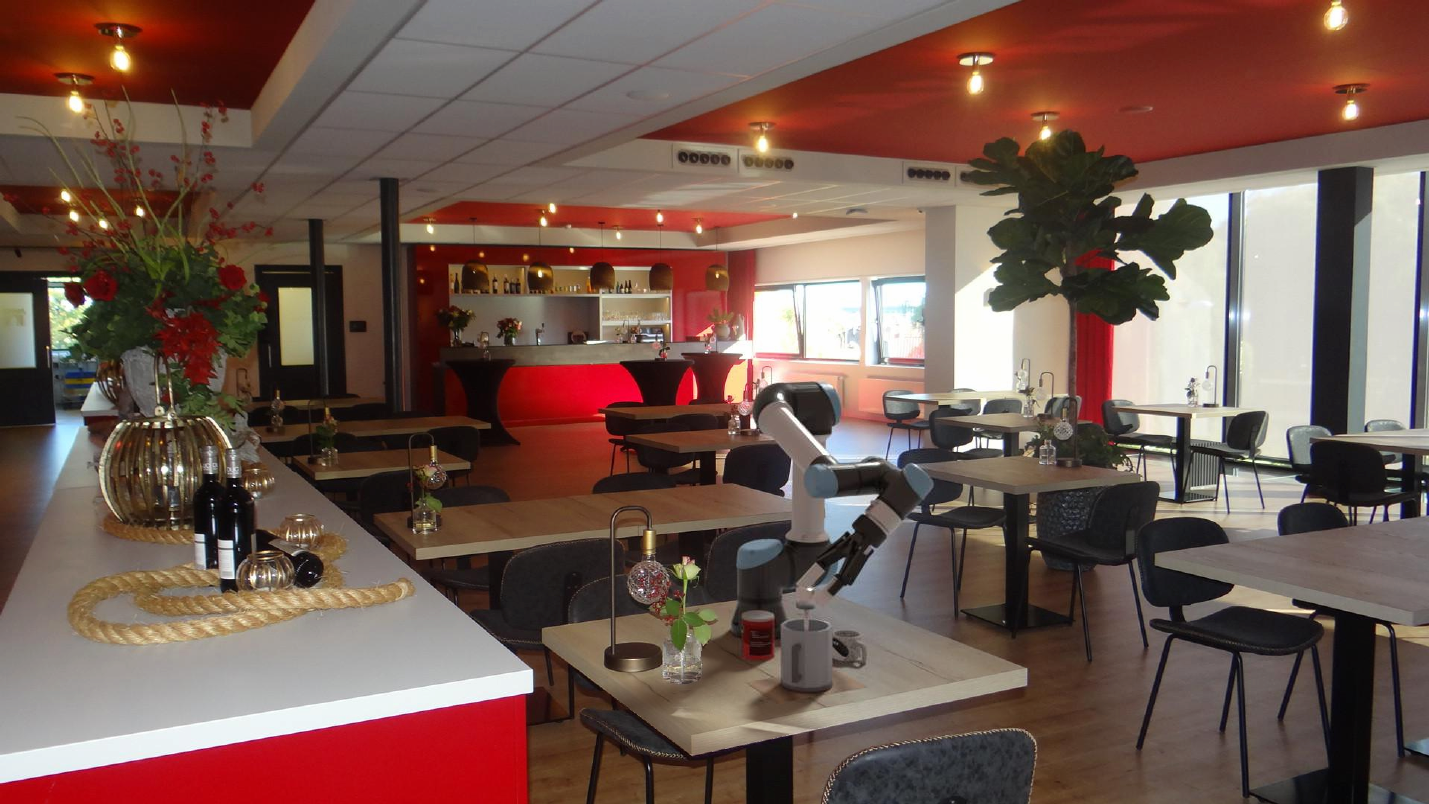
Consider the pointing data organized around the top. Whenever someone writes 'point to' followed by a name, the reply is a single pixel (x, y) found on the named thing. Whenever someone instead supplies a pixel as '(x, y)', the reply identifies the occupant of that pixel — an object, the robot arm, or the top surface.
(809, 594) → the plunger
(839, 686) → the serving board
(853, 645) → the mug
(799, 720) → the top surface
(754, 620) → the canned food
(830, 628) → the grey cup
